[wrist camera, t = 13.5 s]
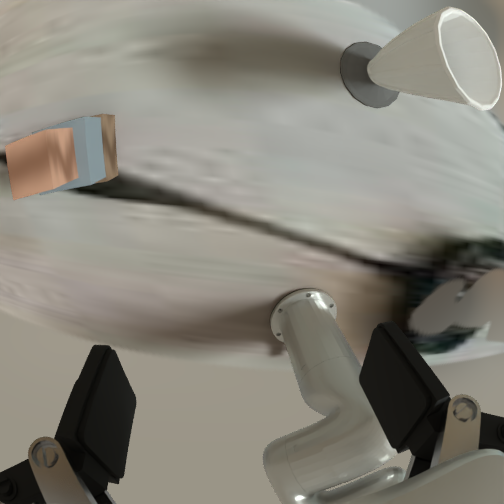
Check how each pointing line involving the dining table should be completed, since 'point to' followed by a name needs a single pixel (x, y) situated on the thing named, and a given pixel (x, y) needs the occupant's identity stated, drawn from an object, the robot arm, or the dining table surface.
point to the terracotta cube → (41, 162)
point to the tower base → (108, 146)
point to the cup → (427, 64)
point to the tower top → (84, 151)
